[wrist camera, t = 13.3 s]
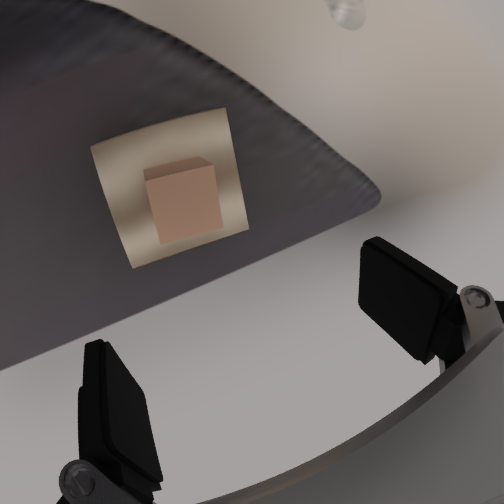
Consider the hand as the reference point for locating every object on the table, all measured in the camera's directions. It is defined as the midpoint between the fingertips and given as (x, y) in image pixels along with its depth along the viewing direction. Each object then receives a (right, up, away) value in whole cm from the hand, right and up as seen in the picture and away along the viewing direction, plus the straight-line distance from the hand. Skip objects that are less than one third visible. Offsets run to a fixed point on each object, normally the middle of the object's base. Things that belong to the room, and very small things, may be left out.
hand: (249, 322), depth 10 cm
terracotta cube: (-6, +8, +16) cm, 19 cm away
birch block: (-8, +9, +19) cm, 23 cm away
